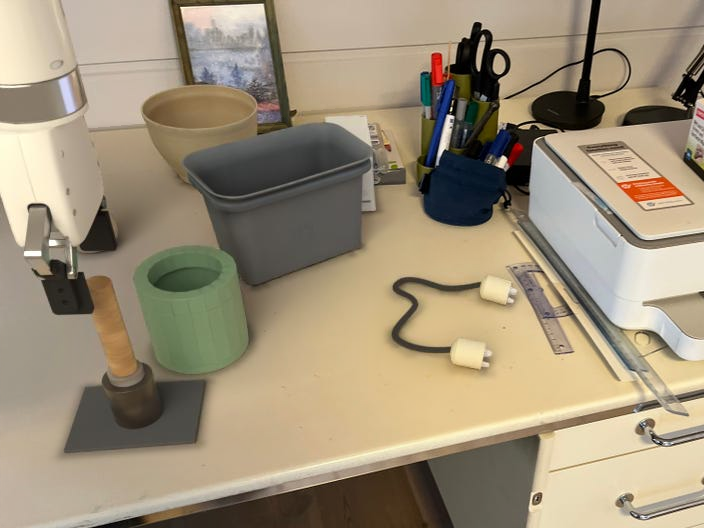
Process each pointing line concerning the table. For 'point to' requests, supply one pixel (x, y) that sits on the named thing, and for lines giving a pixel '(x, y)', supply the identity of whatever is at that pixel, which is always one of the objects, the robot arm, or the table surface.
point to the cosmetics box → (361, 130)
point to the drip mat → (170, 429)
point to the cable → (461, 349)
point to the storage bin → (283, 197)
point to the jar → (192, 308)
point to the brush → (122, 363)
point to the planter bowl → (198, 120)
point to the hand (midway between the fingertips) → (87, 279)
